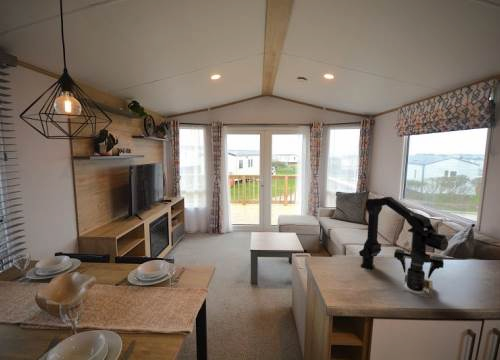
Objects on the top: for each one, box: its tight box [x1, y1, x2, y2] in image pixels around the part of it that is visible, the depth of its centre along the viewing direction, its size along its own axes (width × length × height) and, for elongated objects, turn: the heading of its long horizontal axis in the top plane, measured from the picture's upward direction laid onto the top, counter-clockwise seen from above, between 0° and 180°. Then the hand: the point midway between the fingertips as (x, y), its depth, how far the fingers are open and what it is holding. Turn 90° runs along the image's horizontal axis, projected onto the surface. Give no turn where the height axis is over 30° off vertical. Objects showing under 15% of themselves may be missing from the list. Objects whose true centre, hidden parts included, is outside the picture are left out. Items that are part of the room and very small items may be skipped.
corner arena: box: [402, 273, 434, 300], centre depth 115 cm, size 11×11×4 cm
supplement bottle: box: [406, 261, 426, 291], centre depth 114 cm, size 7×7×12 cm
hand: (416, 275), depth 114 cm, fingers open, 9 cm apart
